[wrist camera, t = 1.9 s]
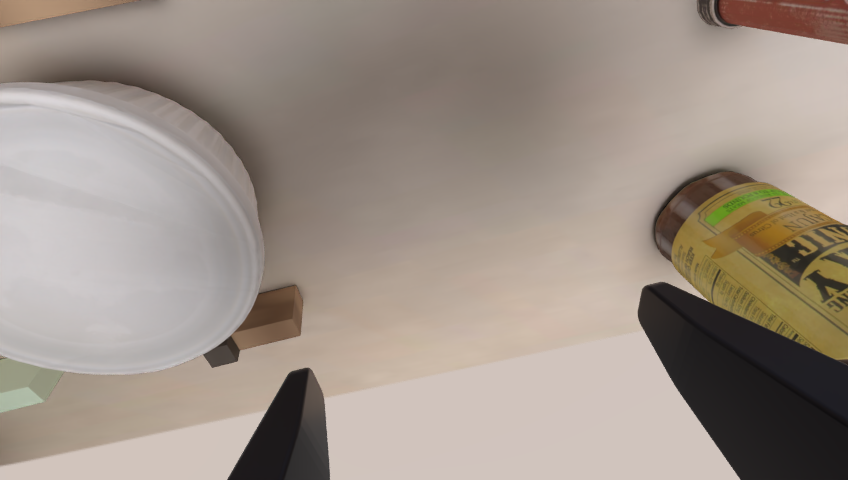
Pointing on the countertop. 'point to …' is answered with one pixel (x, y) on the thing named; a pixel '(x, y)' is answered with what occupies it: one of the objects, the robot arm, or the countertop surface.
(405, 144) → the countertop surface
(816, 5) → the lighter
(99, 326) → the ramekin
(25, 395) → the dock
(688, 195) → the sauce bottle
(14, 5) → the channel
